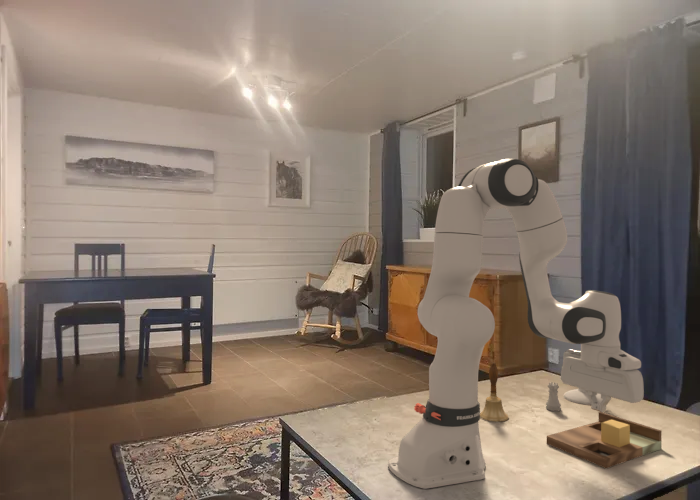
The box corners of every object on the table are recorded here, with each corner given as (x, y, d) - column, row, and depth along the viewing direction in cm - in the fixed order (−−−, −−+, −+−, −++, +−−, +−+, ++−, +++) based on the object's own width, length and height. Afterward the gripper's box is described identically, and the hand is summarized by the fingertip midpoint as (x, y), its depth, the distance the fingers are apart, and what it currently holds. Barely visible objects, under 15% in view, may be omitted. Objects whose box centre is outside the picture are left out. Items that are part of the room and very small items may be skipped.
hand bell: (473, 415, 145) (473, 361, 145) (493, 410, 149) (493, 358, 149) (494, 424, 137) (494, 367, 137) (514, 418, 141) (514, 364, 141)
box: (606, 468, 109) (606, 448, 109) (546, 443, 123) (546, 426, 123) (661, 448, 120) (661, 430, 120) (600, 428, 134) (600, 411, 134)
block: (619, 447, 116) (619, 428, 116) (601, 441, 120) (601, 422, 120) (629, 443, 118) (629, 424, 118) (611, 437, 122) (611, 419, 122)
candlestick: (559, 392, 167) (558, 305, 167) (598, 393, 166) (598, 305, 166) (570, 404, 155) (570, 310, 155) (613, 405, 153) (613, 310, 153)
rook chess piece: (562, 412, 147) (562, 385, 147) (547, 411, 148) (547, 385, 148) (559, 407, 151) (559, 381, 151) (544, 406, 152) (544, 381, 152)
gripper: (556, 348, 129) (554, 400, 129) (632, 365, 111) (630, 425, 111) (571, 347, 132) (570, 397, 132) (648, 362, 114) (646, 421, 114)
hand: (598, 410), depth 122 cm, fingers closed
